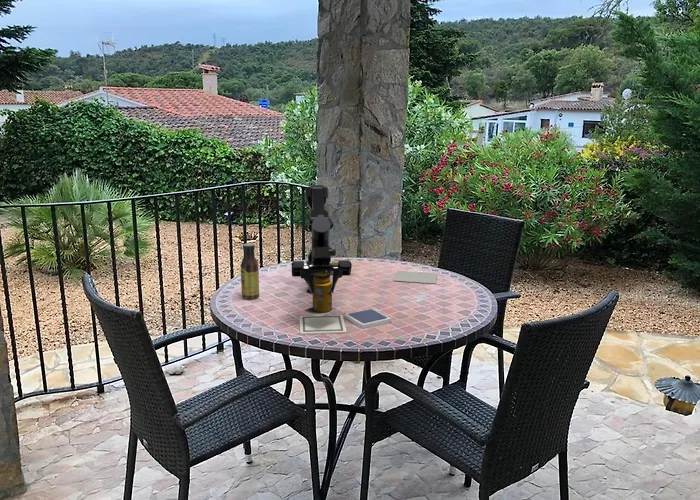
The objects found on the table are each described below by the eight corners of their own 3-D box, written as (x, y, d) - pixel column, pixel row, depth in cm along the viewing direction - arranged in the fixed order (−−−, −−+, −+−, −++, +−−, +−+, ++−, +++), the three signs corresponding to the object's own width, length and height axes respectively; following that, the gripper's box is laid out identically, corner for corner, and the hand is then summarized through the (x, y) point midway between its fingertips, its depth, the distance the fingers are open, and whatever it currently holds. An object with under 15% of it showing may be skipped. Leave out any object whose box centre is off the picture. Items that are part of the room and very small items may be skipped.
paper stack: (434, 292, 207) (434, 290, 206) (369, 287, 211) (369, 286, 211) (437, 275, 229) (437, 273, 229) (377, 271, 233) (377, 269, 233)
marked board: (299, 317, 179) (299, 315, 179) (342, 316, 181) (342, 314, 181) (300, 334, 166) (300, 332, 166) (346, 333, 167) (346, 331, 167)
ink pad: (344, 317, 180) (344, 313, 179) (372, 311, 185) (372, 307, 185) (362, 328, 171) (362, 324, 170) (391, 322, 176) (391, 317, 176)
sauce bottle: (242, 294, 201) (240, 241, 196) (260, 294, 202) (258, 241, 197) (240, 300, 195) (238, 246, 190) (258, 300, 195) (256, 246, 190)
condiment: (337, 309, 173) (337, 273, 170) (319, 317, 167) (318, 279, 164) (321, 304, 178) (320, 268, 175) (302, 311, 172) (301, 275, 169)
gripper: (291, 236, 169) (291, 281, 162) (351, 235, 171) (354, 280, 163) (291, 254, 179) (292, 297, 171) (348, 253, 181) (351, 296, 173)
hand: (322, 292), depth 169 cm, fingers closed on condiment, 6 cm apart
